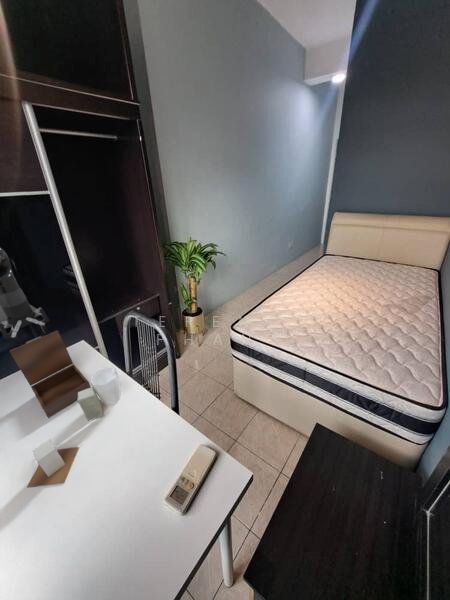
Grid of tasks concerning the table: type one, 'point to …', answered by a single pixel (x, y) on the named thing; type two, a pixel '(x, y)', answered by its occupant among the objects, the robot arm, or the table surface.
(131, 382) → the table surface
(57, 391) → the chest
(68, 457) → the pad
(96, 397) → the box
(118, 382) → the cup
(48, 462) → the light grey block
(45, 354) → the lid
